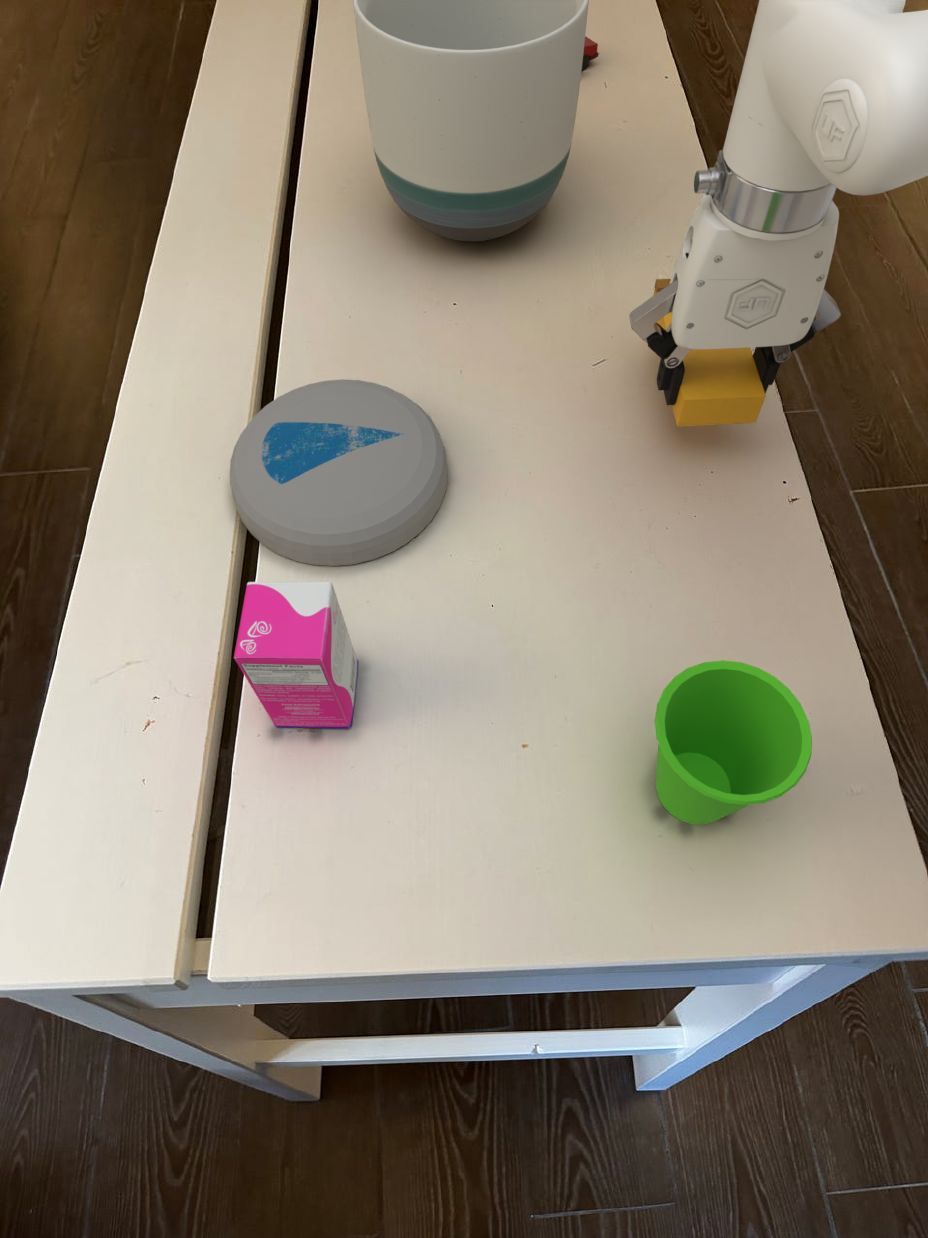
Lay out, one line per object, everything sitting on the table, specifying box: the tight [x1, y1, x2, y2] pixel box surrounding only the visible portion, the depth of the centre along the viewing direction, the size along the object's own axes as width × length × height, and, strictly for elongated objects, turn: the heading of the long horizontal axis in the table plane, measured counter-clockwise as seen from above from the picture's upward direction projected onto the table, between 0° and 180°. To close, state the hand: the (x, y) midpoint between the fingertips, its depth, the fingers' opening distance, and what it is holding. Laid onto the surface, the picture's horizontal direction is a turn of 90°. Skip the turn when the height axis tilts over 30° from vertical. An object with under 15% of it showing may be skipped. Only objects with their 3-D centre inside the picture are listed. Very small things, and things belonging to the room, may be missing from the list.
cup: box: [654, 659, 813, 826], centre depth 54 cm, size 9×9×11 cm
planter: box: [352, 0, 590, 242], centre depth 82 cm, size 20×20×21 cm
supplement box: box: [233, 581, 359, 730], centre depth 58 cm, size 6×6×12 cm
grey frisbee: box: [229, 379, 449, 567], centre depth 71 cm, size 18×18×5 cm
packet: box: [652, 278, 766, 427], centre depth 71 cm, size 14×6×3 cm, turn 3°
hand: (711, 389), depth 70 cm, fingers closed on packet, 6 cm apart
